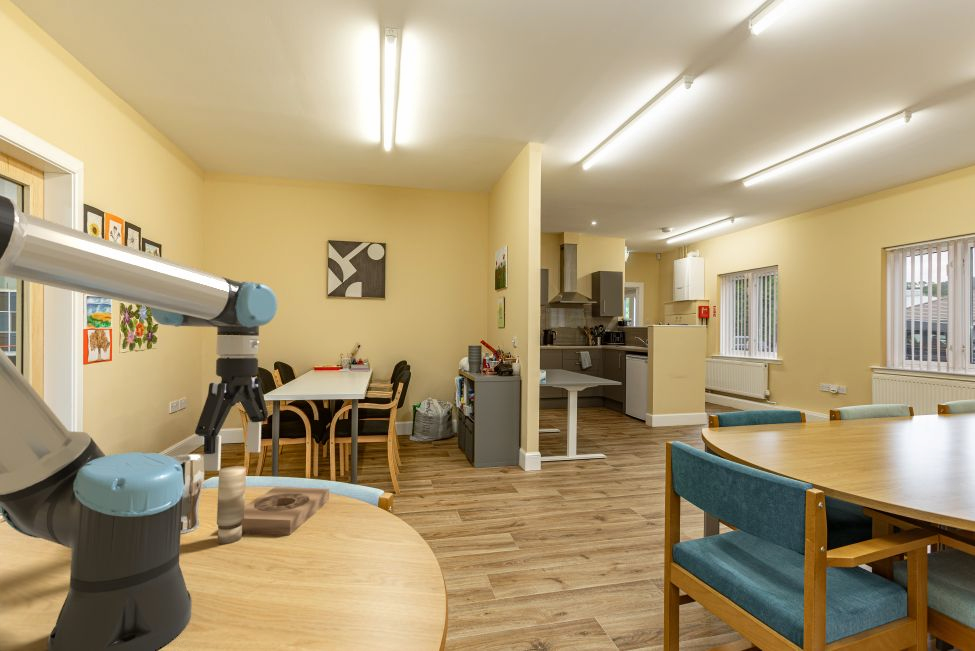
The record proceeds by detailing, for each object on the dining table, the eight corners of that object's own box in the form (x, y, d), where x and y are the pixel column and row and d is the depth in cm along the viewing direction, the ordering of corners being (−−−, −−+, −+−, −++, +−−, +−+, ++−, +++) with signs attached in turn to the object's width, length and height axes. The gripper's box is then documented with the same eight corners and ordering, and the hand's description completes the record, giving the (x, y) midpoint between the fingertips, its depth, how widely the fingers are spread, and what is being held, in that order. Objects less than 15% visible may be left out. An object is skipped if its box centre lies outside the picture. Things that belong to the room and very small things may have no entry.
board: (290, 534, 92) (290, 520, 92) (224, 532, 92) (225, 517, 92) (328, 500, 112) (329, 488, 112) (275, 498, 112) (275, 486, 112)
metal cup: (187, 536, 90) (190, 462, 91) (153, 535, 90) (157, 461, 91) (209, 522, 97) (212, 453, 98) (178, 521, 97) (181, 453, 98)
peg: (233, 545, 87) (236, 473, 87) (210, 544, 87) (213, 472, 87) (248, 534, 91) (251, 466, 92) (225, 533, 92) (228, 465, 92)
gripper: (215, 359, 78) (211, 480, 77) (285, 355, 103) (283, 446, 102) (174, 358, 79) (170, 478, 78) (254, 354, 103) (251, 445, 103)
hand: (234, 460), depth 90 cm, fingers open, 13 cm apart
